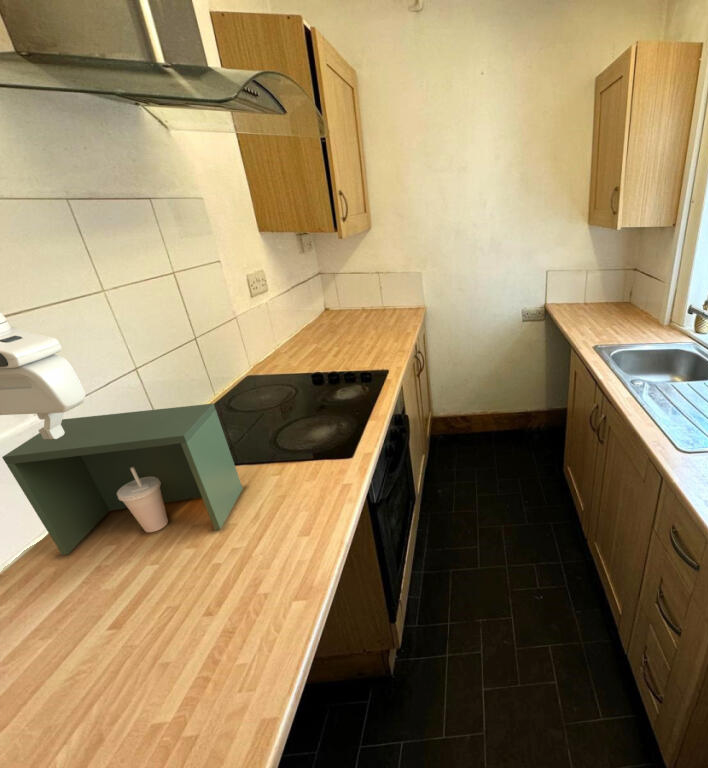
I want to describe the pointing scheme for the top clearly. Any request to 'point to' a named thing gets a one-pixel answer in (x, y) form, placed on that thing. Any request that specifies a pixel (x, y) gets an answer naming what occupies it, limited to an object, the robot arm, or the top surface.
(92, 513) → the cupboard
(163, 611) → the top surface
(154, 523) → the smoothie
